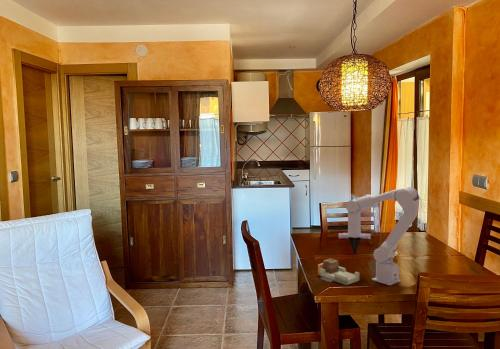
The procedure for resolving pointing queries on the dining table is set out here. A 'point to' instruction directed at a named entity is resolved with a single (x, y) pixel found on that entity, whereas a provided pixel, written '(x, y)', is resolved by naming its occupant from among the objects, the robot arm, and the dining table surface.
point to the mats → (326, 279)
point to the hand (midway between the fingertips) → (354, 253)
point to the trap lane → (339, 275)
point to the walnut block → (331, 265)
